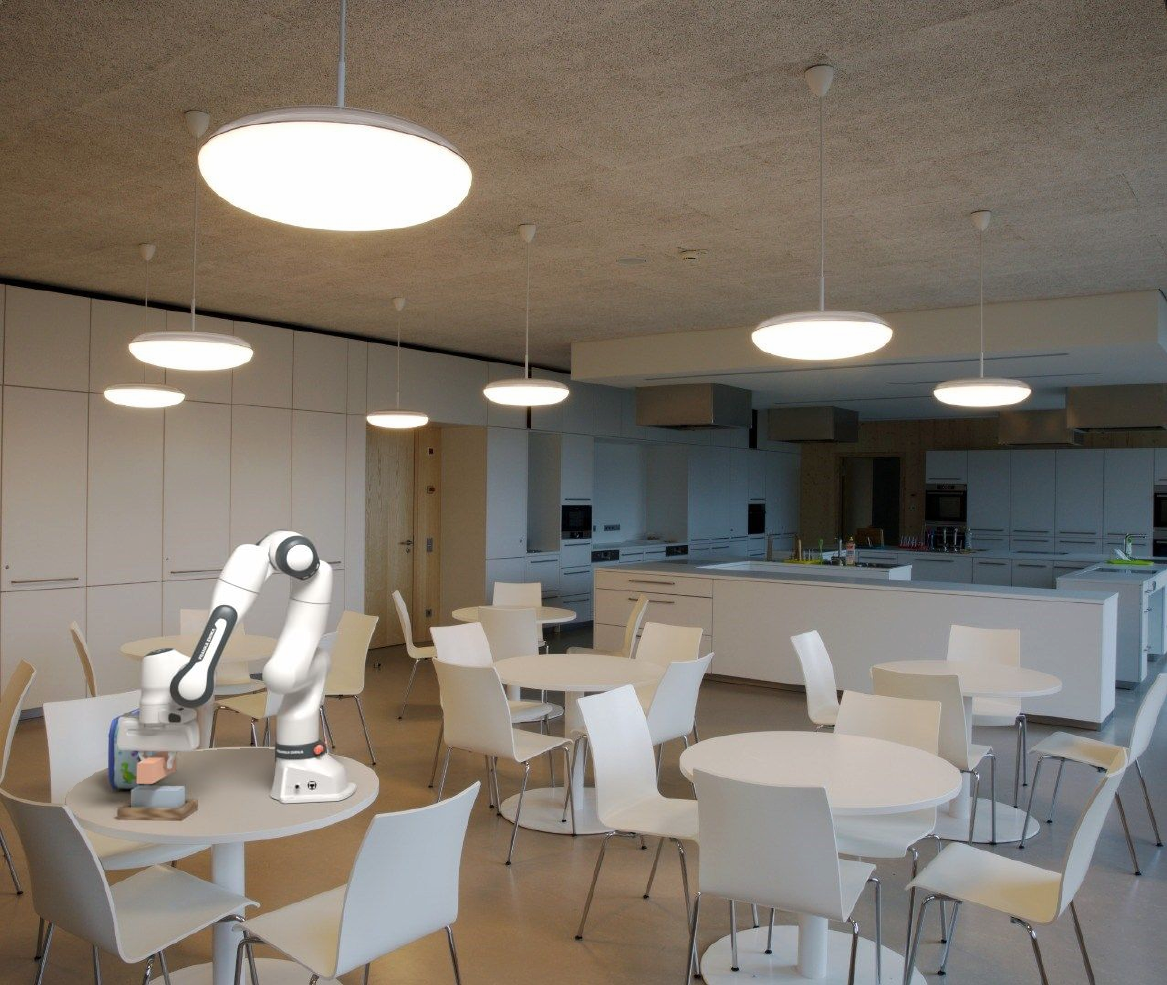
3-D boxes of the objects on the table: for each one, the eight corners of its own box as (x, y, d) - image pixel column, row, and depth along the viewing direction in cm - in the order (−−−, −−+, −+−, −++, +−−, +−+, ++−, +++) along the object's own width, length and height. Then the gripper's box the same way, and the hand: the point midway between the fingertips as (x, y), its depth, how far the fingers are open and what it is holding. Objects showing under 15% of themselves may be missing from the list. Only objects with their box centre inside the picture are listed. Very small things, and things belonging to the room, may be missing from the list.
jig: (197, 809, 239) (197, 799, 239) (181, 820, 231) (181, 809, 231) (135, 808, 240) (135, 798, 240) (117, 819, 232) (117, 808, 232)
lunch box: (142, 769, 278) (142, 698, 279) (179, 768, 279) (179, 698, 279) (102, 795, 252) (102, 717, 253) (142, 794, 253) (143, 716, 253)
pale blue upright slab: (184, 809, 237) (184, 786, 237) (176, 814, 233) (176, 790, 233) (139, 808, 238) (139, 785, 238) (130, 813, 234) (131, 789, 234)
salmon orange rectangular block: (152, 783, 229) (152, 763, 229) (136, 783, 230) (136, 763, 230) (176, 770, 241) (176, 750, 241) (161, 769, 241) (161, 750, 242)
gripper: (111, 715, 233) (110, 770, 233) (191, 716, 232) (190, 772, 232) (125, 709, 240) (124, 763, 239) (202, 711, 238) (202, 765, 238)
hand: (157, 768), depth 236 cm, fingers closed on salmon orange rectangular block, 4 cm apart
